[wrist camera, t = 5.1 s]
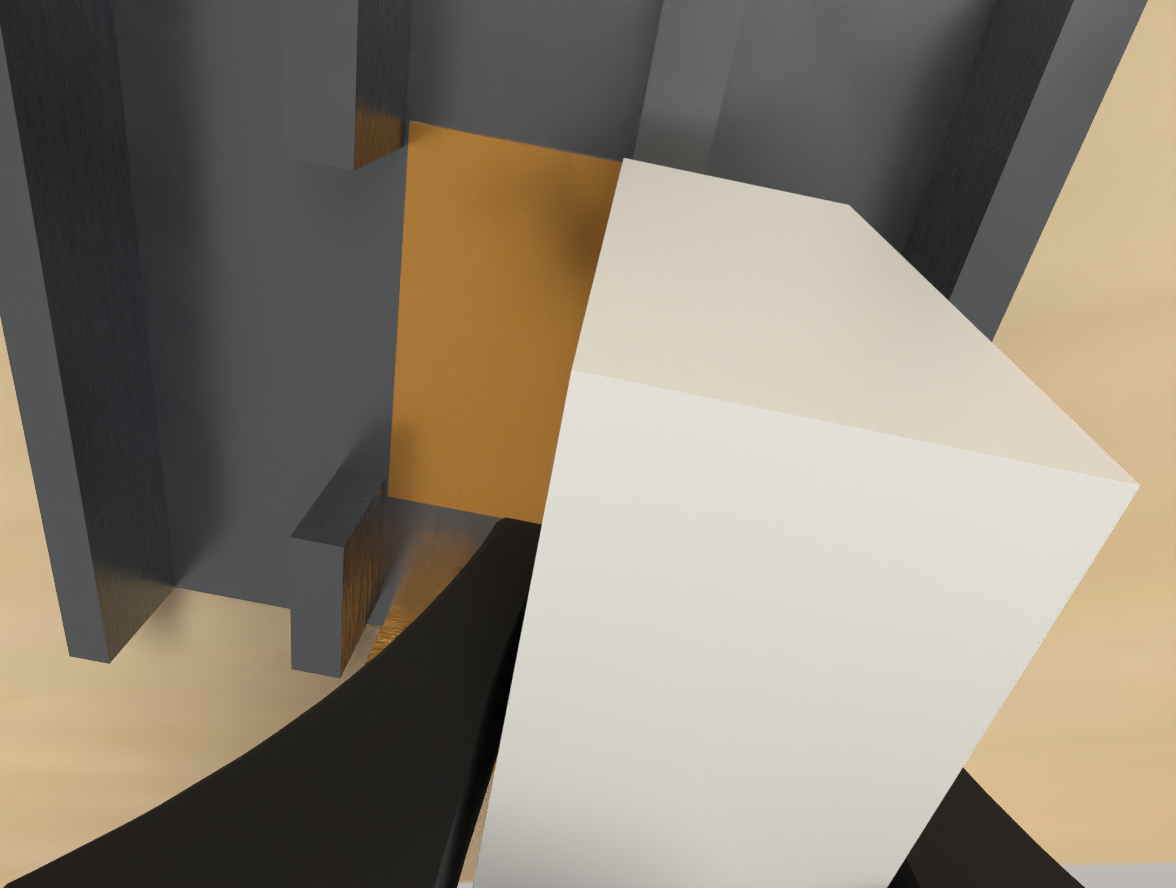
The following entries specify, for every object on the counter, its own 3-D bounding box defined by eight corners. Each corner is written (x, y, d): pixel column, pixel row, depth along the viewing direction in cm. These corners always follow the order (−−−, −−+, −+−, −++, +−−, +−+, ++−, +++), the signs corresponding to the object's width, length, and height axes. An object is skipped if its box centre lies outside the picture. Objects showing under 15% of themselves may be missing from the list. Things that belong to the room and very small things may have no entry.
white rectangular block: (670, 727, 15) (678, 1218, 9) (516, 697, 15) (418, 1170, 9) (849, 204, 10) (1139, 484, 4) (624, 158, 10) (570, 369, 4)
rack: (767, 673, 23) (793, 826, 19) (160, 558, 23) (41, 686, 18) (1042, -24, 14) (1209, -45, 10) (68, -221, 14) (-195, -329, 10)
